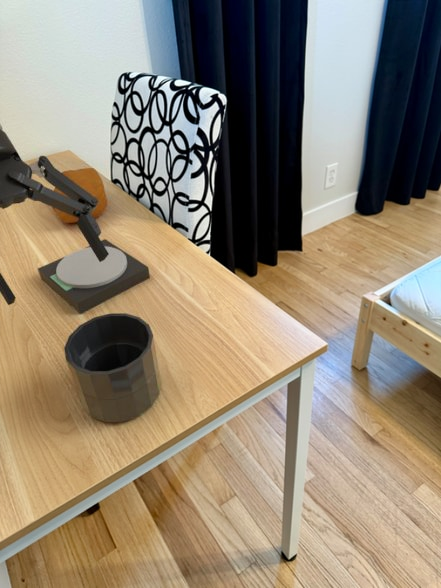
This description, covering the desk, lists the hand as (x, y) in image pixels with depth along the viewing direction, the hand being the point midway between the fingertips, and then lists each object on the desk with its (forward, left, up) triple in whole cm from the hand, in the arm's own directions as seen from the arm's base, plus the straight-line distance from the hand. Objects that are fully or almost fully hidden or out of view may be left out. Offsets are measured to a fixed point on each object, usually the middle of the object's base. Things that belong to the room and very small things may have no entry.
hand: (61, 278), depth 58 cm
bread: (+24, +44, -15) cm, 52 cm away
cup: (0, -10, -15) cm, 18 cm away
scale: (+12, +17, -15) cm, 25 cm away
